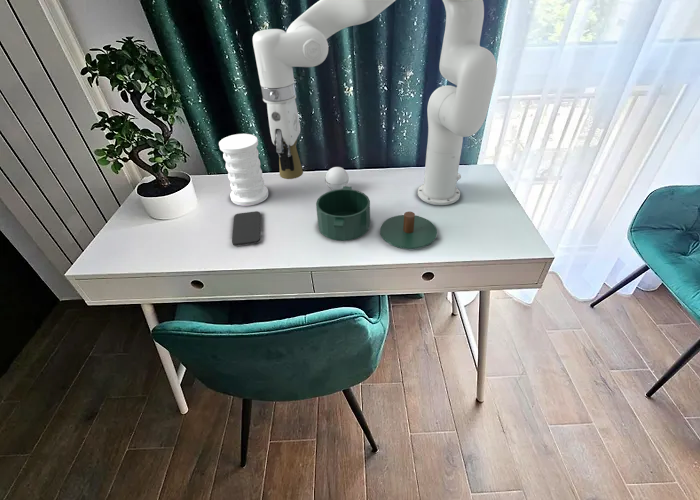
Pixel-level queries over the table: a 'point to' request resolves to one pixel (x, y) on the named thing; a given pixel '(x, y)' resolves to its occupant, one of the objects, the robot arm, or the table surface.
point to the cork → (297, 165)
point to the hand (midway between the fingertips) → (290, 165)
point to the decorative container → (244, 169)
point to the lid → (408, 231)
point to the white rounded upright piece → (336, 178)
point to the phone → (246, 228)
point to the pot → (343, 214)
